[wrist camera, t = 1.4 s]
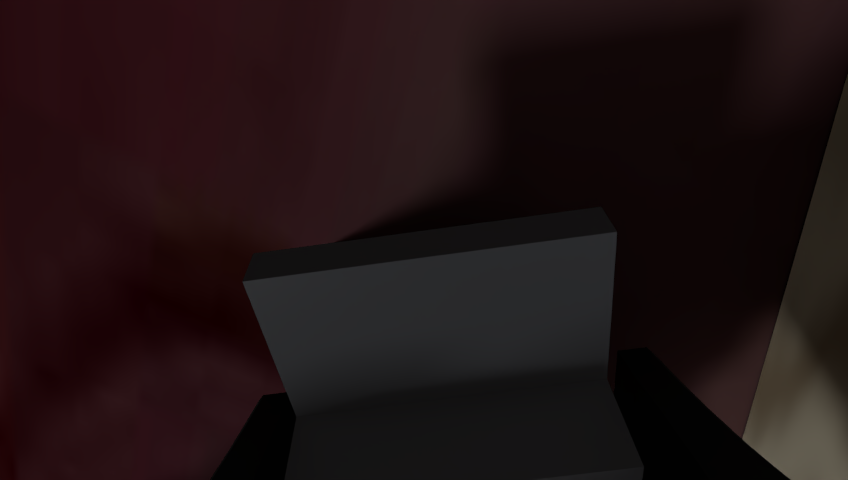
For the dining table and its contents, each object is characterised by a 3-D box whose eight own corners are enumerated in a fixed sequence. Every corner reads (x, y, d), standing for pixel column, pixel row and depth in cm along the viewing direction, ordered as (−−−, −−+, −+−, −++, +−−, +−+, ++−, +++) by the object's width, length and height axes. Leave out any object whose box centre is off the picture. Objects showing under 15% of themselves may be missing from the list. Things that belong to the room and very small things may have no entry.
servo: (544, 479, 17) (619, 785, 11) (399, 496, 17) (399, 806, 11) (535, 101, 10) (705, 371, 5) (299, 135, 10) (181, 435, 5)
